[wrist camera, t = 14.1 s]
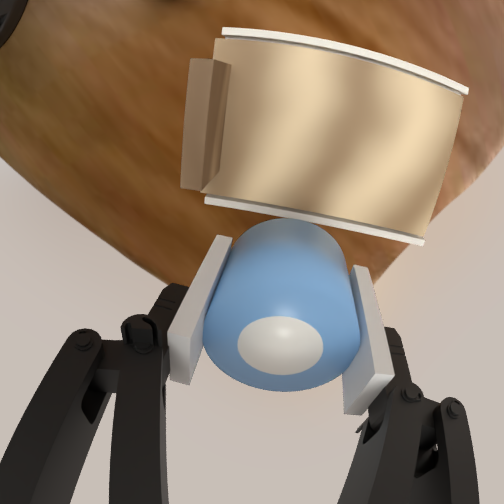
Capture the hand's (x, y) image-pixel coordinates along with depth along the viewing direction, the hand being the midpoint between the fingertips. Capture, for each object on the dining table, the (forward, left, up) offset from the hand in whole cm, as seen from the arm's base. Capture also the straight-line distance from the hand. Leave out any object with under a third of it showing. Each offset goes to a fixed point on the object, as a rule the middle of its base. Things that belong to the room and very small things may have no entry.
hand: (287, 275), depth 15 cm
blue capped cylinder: (0, 0, 0) cm, 0 cm away
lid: (+2, +6, -7) cm, 10 cm away
